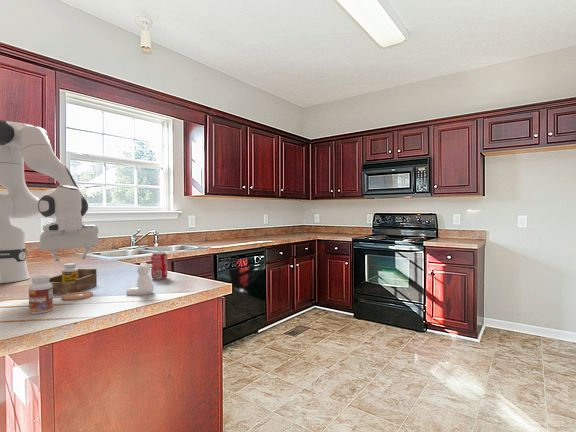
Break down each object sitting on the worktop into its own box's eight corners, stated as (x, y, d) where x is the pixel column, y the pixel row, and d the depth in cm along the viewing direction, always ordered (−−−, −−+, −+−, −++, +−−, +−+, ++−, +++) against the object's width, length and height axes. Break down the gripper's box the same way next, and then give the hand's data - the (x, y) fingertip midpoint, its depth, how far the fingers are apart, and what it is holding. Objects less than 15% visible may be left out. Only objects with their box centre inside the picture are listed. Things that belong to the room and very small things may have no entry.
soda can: (164, 276, 166) (163, 251, 165) (169, 278, 160) (169, 253, 160) (149, 278, 161) (148, 252, 161) (154, 281, 156) (154, 254, 155)
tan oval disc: (55, 300, 124) (55, 298, 124) (73, 293, 134) (73, 291, 134) (82, 300, 123) (82, 298, 123) (98, 293, 133) (98, 291, 133)
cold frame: (41, 292, 134) (41, 274, 134) (65, 285, 148) (65, 268, 148) (75, 293, 134) (75, 275, 134) (96, 285, 147) (96, 268, 147)
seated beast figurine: (144, 289, 140) (144, 260, 139) (161, 291, 136) (160, 261, 136) (125, 295, 131) (124, 263, 131) (142, 297, 128) (142, 264, 127)
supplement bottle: (62, 291, 137) (61, 265, 137) (62, 288, 142) (61, 263, 141) (78, 289, 140) (78, 264, 140) (78, 286, 145) (77, 262, 144)
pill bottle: (24, 314, 107) (24, 279, 106) (35, 309, 113) (34, 275, 113) (47, 313, 108) (46, 278, 108) (56, 308, 114) (55, 274, 114)
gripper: (96, 224, 149) (96, 256, 150) (37, 226, 136) (39, 261, 136) (100, 224, 145) (101, 257, 145) (40, 227, 131) (41, 263, 131)
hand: (70, 259), depth 140 cm, fingers open, 8 cm apart
